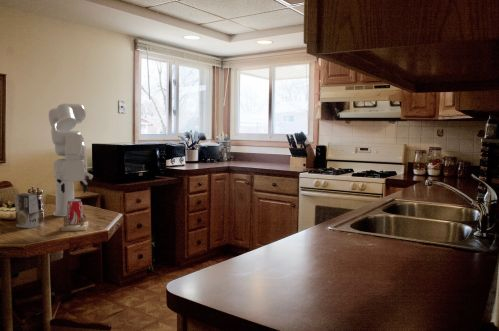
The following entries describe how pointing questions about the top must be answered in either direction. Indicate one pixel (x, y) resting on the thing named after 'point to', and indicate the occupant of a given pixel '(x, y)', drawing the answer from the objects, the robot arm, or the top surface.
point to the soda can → (74, 211)
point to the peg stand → (81, 226)
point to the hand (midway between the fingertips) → (74, 192)
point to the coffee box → (27, 210)
